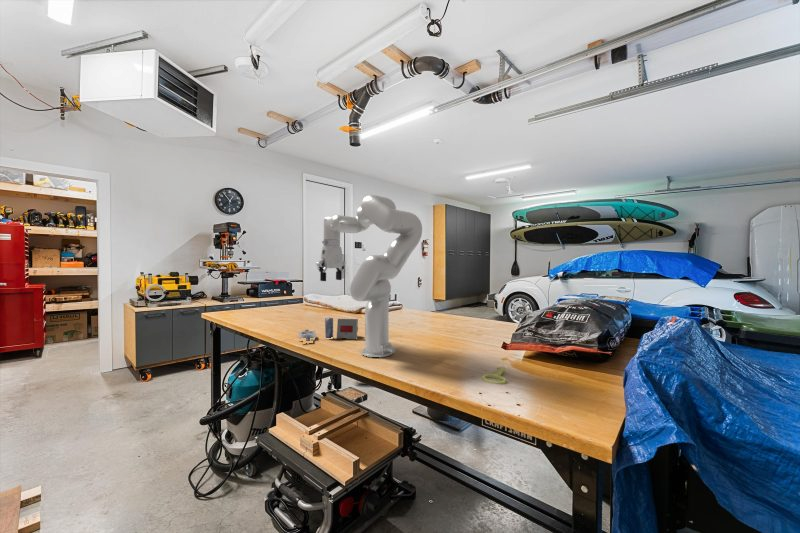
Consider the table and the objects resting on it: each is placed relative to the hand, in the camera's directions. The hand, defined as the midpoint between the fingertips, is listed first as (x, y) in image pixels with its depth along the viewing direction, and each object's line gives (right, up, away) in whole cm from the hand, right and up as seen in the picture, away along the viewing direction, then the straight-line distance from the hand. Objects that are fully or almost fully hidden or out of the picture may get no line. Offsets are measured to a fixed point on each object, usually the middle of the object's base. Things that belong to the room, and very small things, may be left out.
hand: (331, 280), depth 146 cm
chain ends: (-14, -29, +8) cm, 33 cm away
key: (+64, -30, -45) cm, 84 cm away
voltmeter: (+14, -29, +10) cm, 34 cm away
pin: (-2, -29, +7) cm, 30 cm away
